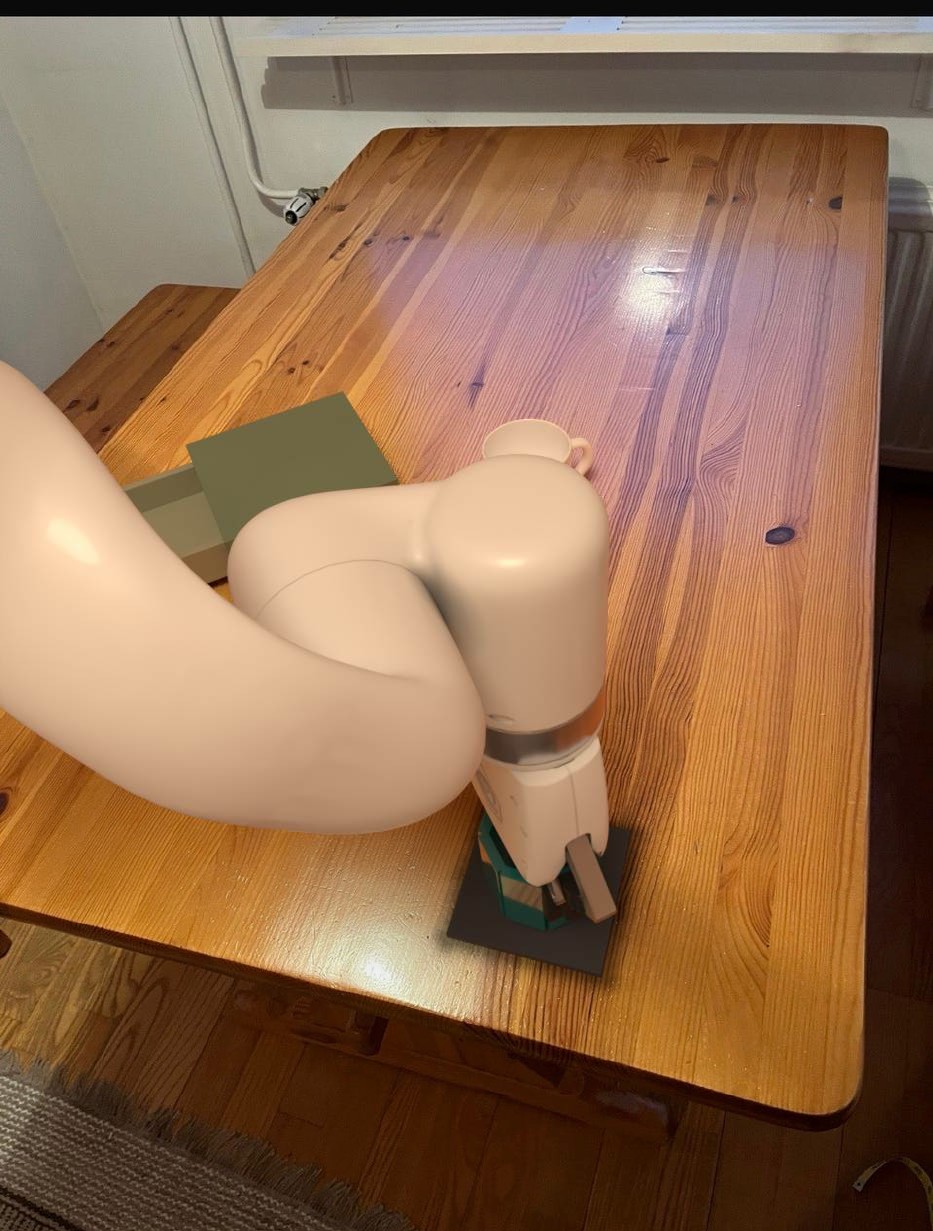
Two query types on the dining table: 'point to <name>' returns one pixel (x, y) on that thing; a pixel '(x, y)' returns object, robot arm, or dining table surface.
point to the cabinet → (286, 461)
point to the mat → (562, 946)
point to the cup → (537, 442)
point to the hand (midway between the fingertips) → (540, 853)
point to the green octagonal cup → (512, 882)
